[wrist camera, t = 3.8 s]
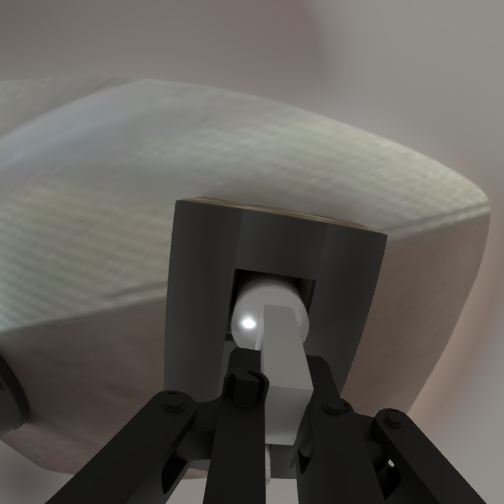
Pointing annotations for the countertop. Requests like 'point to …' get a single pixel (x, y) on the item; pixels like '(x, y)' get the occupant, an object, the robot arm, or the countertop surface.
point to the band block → (267, 261)
